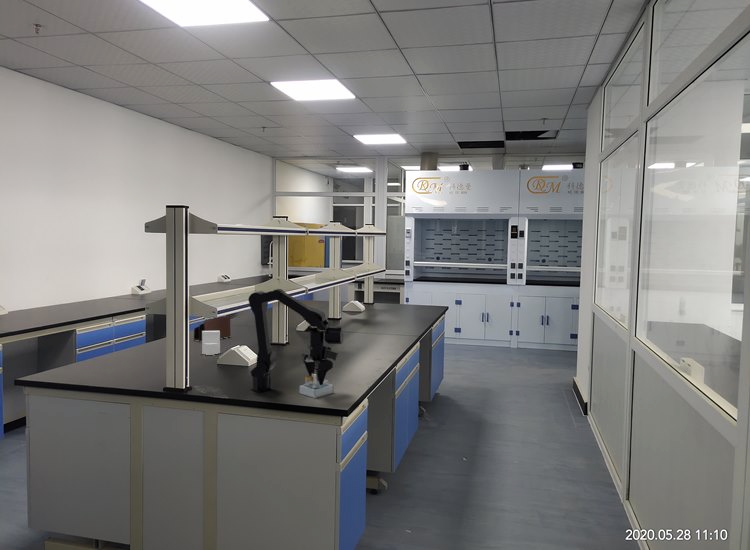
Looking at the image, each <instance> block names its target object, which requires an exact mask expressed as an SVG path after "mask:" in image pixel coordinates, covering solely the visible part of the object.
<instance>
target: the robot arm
mask: <svg viewBox="0 0 750 550" xmlns="http://www.w3.org/2000/svg"><path fill="white" fill-rule="evenodd" d="M247 299H248V304H249V307H250V310H251V311H252V314H253V315H254V316H253V317H254V322H255V332H256V339H257V347H258V352H257V356H256V366H255V367H254V368H252V370H251V371H250V375H251V377H252V387H250V388H249V389H250V390H251V391H255V392H257V393H263V392H266V391H270V390H273V387H271V385H272V384H271V381H272V378H271V372H272V369H273V368H275V367H276V364H277V363H276V362H278V359H277V357H276V356H277V351H273V350H272V349H271V344H270V336H269V335H270V334H269V330H268V329H269V328H268V320H267V310H268V304H269V302H270V301H275V300H276V301H278V302H279V303H281V304H283V305H284V306H286V307H288V308H289V309H291V310H292V311H294V312H295V313H297V314H298V315H300V316H301V318H302V319H304V321H305V322H306V323H307V324H309V325H307V327H306V328H305V330H304V333H305V332H307V333H309V344H307V349H309V350H308V351H309V352H303V353H302V354H301V355H300V361H302V364H303V365H304V368H305V369H306V372H307V374H308V376H312V373H314V372H316V375H317V378H318V381H319V384H320V385H323V382H324V379H325V378H326V375H327V374H328V372H329V371H331V370H332V369H333V368H334V363H333V361H336V360H337V358H338V352H337V351H336V350H335V351H334V350H332V348H331V347H330V346H327V345H325V343H326V344H329V345H330V344H331V345H343V344H344V339H345V337H344V330H343V327H342V326H331V324H330V323H329V321H328V320H327V319H326V318H327V317H326V314H325V313H324V312H323V310H320V309H317V308H314V307H311V306H308V305H306V304H305V303H303V302H301V301H300V300H298V299H296V298H295V297H293V296H292V295H290V294H289V293H288V292H286V291H284V289H282V288H277V289H273V290H271V291H270V290H269V291H266V292H265V291H262V290H260V291H256V292H253V293H251V294H250V295H249V296H248V298H247ZM330 359H331V360H330ZM332 360H333V361H332ZM325 380H326V379H325Z"/></svg>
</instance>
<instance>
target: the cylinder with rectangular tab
mask: <svg viewBox="0 0 750 550" xmlns="http://www.w3.org/2000/svg"><path fill="white" fill-rule="evenodd" d="M201 351H202V352H201V354H206V355H213V356H215V355H214V354H218V353H220V354H221V340H220V331H202V342H201Z"/></svg>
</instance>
